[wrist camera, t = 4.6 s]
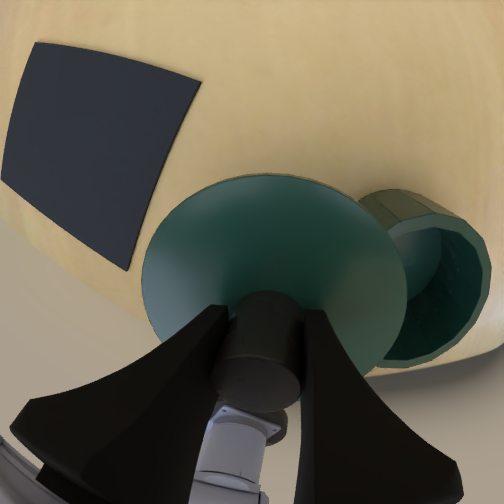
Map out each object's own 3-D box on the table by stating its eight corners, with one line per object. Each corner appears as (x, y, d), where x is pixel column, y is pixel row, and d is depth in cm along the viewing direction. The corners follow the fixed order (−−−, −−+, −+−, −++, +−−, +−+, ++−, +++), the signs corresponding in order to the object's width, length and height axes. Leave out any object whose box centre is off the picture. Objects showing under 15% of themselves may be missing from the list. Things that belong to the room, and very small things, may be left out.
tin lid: (306, 407, 13) (300, 475, 10) (132, 322, 13) (86, 381, 9) (445, 264, 9) (499, 331, 5) (210, 117, 8) (144, 111, 5)
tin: (396, 327, 20) (416, 383, 14) (302, 275, 20) (301, 331, 14) (466, 235, 16) (512, 272, 11) (375, 161, 16) (412, 173, 10)
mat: (128, 270, 22) (126, 271, 22) (2, 178, 21) (0, 179, 21) (201, 82, 16) (200, 81, 15) (37, 42, 15) (35, 42, 15)
